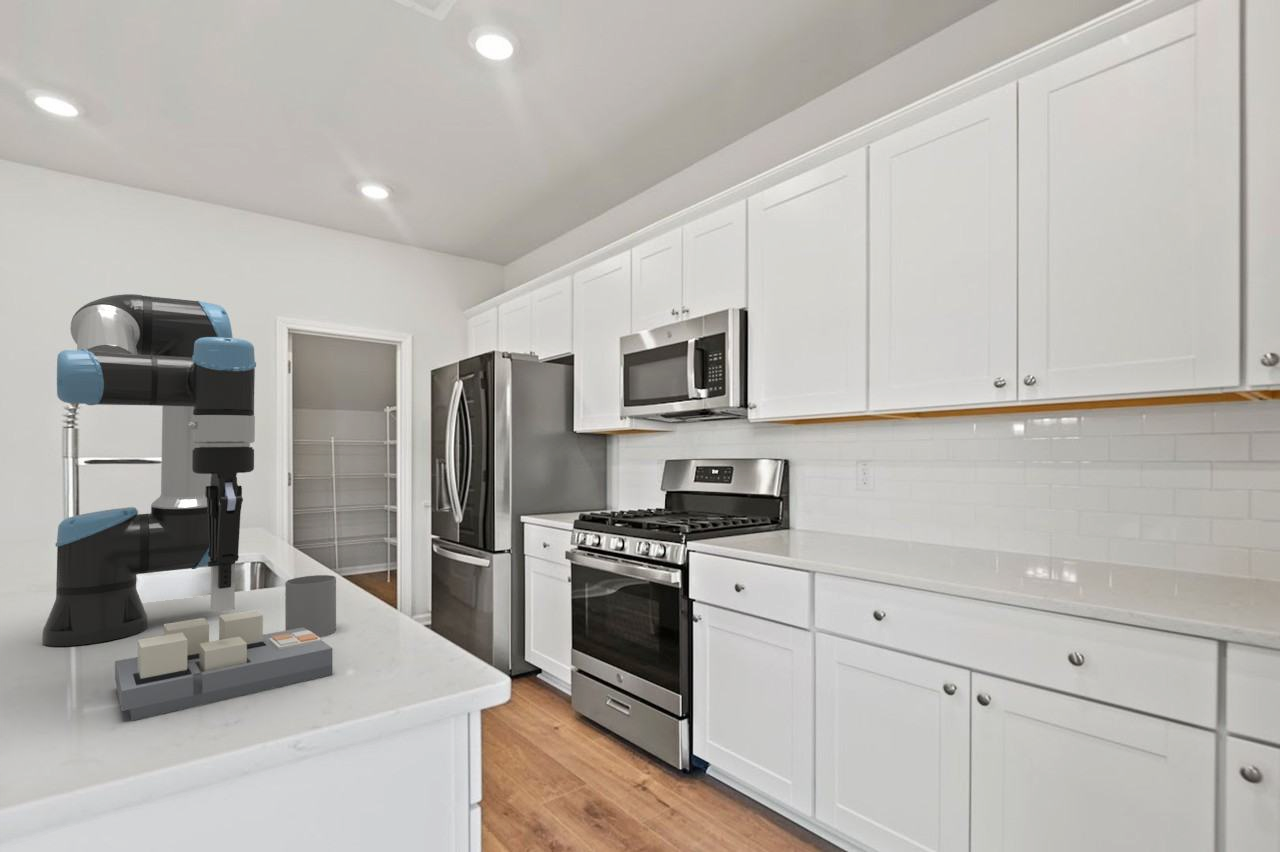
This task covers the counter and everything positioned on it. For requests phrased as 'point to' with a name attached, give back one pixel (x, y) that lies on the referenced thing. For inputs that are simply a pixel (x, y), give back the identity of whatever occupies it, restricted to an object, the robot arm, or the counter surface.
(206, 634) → the button
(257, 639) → the button
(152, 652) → the button
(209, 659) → the button
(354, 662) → the counter surface
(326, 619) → the cup
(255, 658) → the board
